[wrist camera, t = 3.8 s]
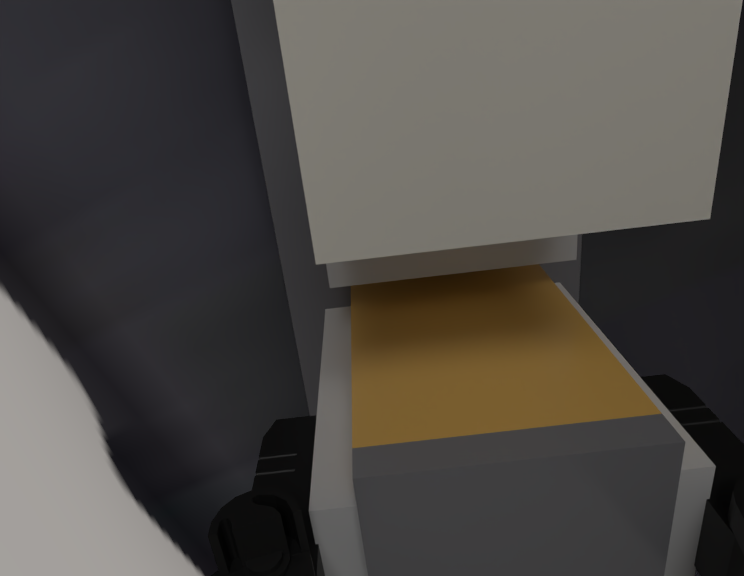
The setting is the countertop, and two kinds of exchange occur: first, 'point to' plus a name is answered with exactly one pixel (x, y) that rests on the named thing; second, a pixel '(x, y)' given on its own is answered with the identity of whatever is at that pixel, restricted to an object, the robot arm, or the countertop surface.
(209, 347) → the countertop surface
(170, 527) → the countertop surface
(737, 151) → the countertop surface
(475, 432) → the block
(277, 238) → the block
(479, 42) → the block
